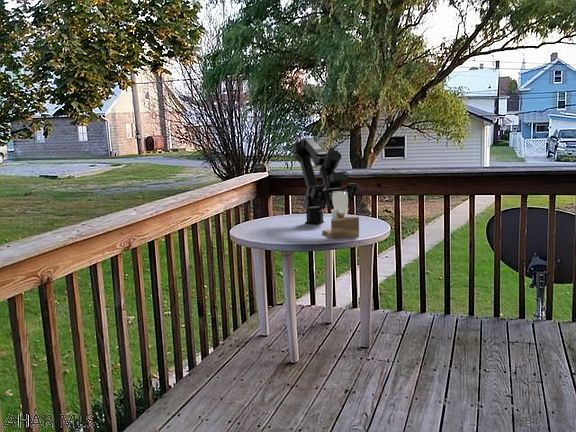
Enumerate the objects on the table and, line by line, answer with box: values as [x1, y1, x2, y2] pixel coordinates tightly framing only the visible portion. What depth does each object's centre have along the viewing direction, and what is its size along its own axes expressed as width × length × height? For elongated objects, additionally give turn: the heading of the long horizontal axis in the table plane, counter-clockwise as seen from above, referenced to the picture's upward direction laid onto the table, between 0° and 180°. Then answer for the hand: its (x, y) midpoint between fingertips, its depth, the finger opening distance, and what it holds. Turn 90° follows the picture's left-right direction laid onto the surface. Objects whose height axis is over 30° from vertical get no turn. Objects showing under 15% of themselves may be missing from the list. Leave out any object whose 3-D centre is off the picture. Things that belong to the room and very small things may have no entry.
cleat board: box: [322, 215, 360, 240], centre depth 219 cm, size 10×11×8 cm
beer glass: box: [330, 191, 349, 219], centre depth 219 cm, size 7×7×15 cm
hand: (340, 208), depth 218 cm, fingers closed on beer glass, 7 cm apart
